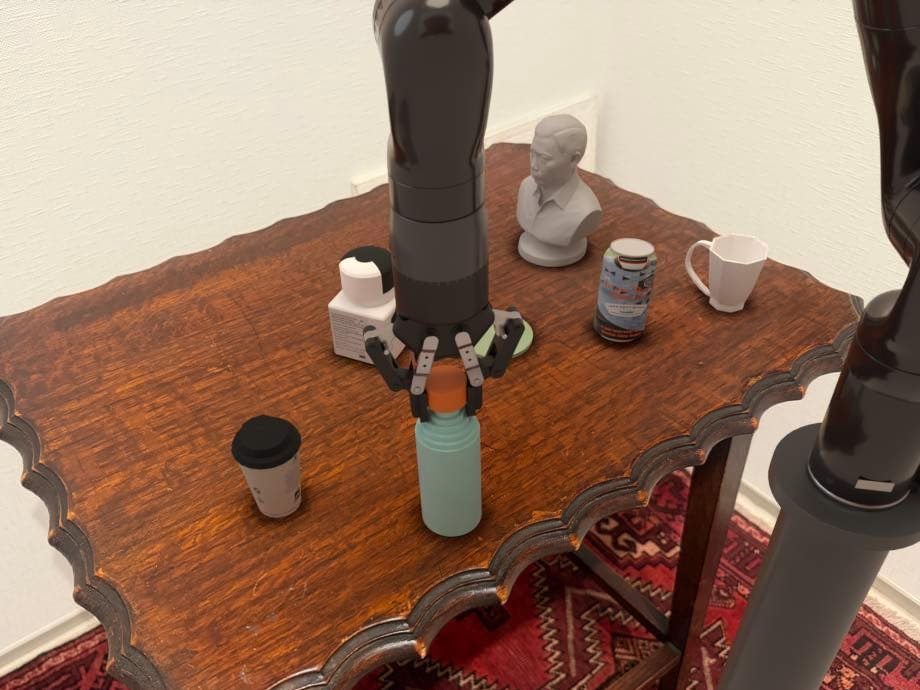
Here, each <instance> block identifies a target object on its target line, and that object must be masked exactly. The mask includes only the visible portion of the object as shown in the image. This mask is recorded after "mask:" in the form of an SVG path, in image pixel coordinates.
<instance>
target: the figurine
mask: <svg viewBox="0 0 920 690" xmlns="http://www.w3.org/2000/svg"><path fill="white" fill-rule="evenodd" d="M532 138H533V139H532V141H531V144H530V147H529V150H530V153H529V163H530V175H528V176H527V177H525V178H524V179H523V180H522V181H521V184H520V186H519V190H518V195H517V202H516V203H517V205H516V212H515V217H516V219H517V223H518V224H519V226H520V227H521V228H522V230H523V233H521V234H520V236H519V240H518V245H517V250H518V254H519V255H520V257H521V258H523V259H524V260H525V261H527V262H528V263H530V264H533V265H537V266H540V267H548V268H558V267H565V266H569V265H573V264H574V263H577V262H579V261H580V260H582V258H583V257H584V256H585V255H586V252H587V247H588V239H587V237H589V236H590V235H593V233H595V232H597V231H598V230H599V227H600V224H601V222H602V219H603V215H604V214H603V209H602V207H601V204H600V202H599V200H598V197H597V196H596V194H595V193H594V192H593V189H592V188H591V187H590V186H588V185H587V184H586V183H585V182H584V181H583V180H582V179H581V177H580V176H579V173H578V169H577V165H578V164H579V163H580V162H581V161H582V159H583V157H584V156H585V152H586V149H587V145H588V132H587V129H586V126H585V125H584V124H583V123H582V121H580V120H579V119H578V118H576V116H573V115H572V114H567V113H559V114H553V115H548V116H545V117H544V118H542V119H541V120H540V121H538V123H537V124H536V125H535V128H534V136H533V137H532Z"/></svg>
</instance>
